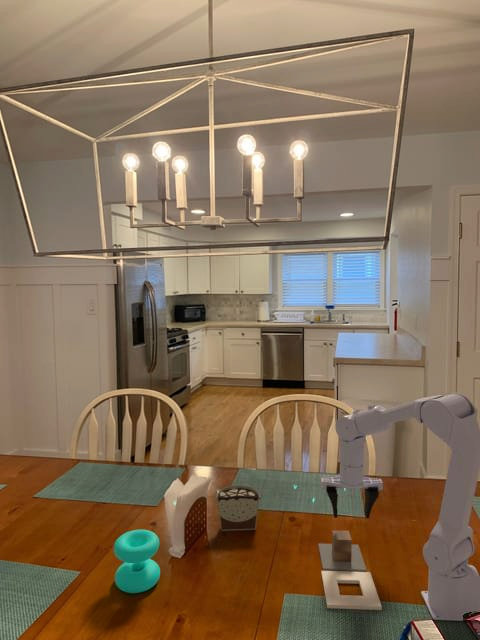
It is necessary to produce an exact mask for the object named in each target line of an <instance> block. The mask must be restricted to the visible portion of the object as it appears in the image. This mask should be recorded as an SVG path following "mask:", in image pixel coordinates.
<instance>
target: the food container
mask: <svg viewBox="0 0 480 640" xmlns="http://www.w3.org/2000/svg"><path fill="white" fill-rule="evenodd" d="M259 502H262V498H261V495H260V493H259V491H258V490H257V489H256V488H254V487H252V486H248V485H240V484H239V485H237V484H236V485H235V484H234V485H230V486H226V487H223V488H221V489H219V491H217V494H216V496H215V503H217V506H218V507H217V508H218V515H219V524H220V530H221V531H223V532H225V531H226V532H227V531H252V530H253V531H255V530H257V520H258V514H259V513H258V512H259V504H260V503H259Z"/></svg>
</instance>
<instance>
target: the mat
mask: <svg viewBox="0 0 480 640" xmlns="http://www.w3.org/2000/svg"><path fill="white" fill-rule="evenodd" d="M317 545H318V551H319V555H320V562H321V567H322V571H348V572H367V567H366V564H365V561H364V558H363V554H362V552H361V548H360V546H359V544H353V543H352V553H351V562H334V558H333V554H332V543H318V544H317Z"/></svg>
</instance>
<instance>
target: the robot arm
mask: <svg viewBox="0 0 480 640" xmlns="http://www.w3.org/2000/svg"><path fill="white" fill-rule="evenodd" d="M478 410H479V409H478V408H477V407H476V406H475V404H474V403H473V402H472V401H471V399H470V398H468V396H466V395H465V394H463V393H461V392H451V393H449V394H447V395H445V394H437V395H433V396H432V395H431V396H426V397H422V398H418V399H414V400H411V401H409V402H405V403H403V404H399V405H397V406H394V407H393V406H392V407H390V408H388V409H387V408H385V407H384V406H383V405H376V404H371V405H367V409H363V410H359V409H357V410H354V411H352V413H351V414H347V415H341V416H340V417H339V418H337V419H336V421H335V425H334V426H335V427H334V428H335V432H336V435H337V436H338V437H339V439H340V440H339V475H337V476H331V477H321V478H320V479H321V480H320V485H321V489H322V490H326V493H327V496H328V498H329V500H330V503H331V507H332V511H333V513H332V514H333V518H334V519H337V518H338V499H339V498H338V497H339V494H338V489H350V490H357V489H364V509H363V510H364V511H363V512H364V516H365V518H366V519H368V520H369V519H370V516H371V511H372V508H373V506H374V504H375V503H376V502H377V499H379V497H380V492H379V491H383V485H384V484H383V483H384V482H383V481H382V479H381V478H373V477H366V476H365V443H366V440H367V436H371V435H375V434H379V433H382V432H386V431H388V430H390V428H391V426H392V424H393V423H398V422H402V421H407V420H411V419H415V420H416V421H417V422H418V423H419V424H424V425H425V427H426V428H427V429H428V430H429V431H431V432H432V433H433V435H435V436H437V437H438V438H439V439H440V440H441V441H442V442H443V443H445V445H447V446H448V447H449V448H450V449H451V452H450V458H449V464H448V469H447V474H446V480H445V485H444V490H443V495H442V501H441V507H440V512H439V517H438V521H437V523H436V524H435V525H434V527H433V528H432V530H431V532H430V535H429V538H428V541H426V542H425V543H424V544H423V547H422V556H423V558H424V562H425V563H426V564H427V566H428V567H427V568H428V578H427V579H428V581H427V582H428V583H427V586H428V587H427V590H422V591H421V592H420V595H421V597H422V599H423V601H424V603H425V605H426V607H427V609H428V611H429V613H430V616H431V618H432V619H433V620H435V621H455V622H457V621H458V622H464V621H463V615H464V614H466V613H469V612H474V611H477V612H480V574H479V572H478V570H477V568H476V567H475V566H474V565H472V564H469V562H468V561H469V558H471V557H472V556H473V555H474V553H475V544H474V540H473V534H474V530H473V528H472V527H471V526H470V525H469V523H470V518H471V513H472V509H473V503H474V499H475V494H476V489H477V484H478V479H479V474H480V426H479V422H478Z"/></svg>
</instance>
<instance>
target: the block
mask: <svg viewBox="0 0 480 640" xmlns="http://www.w3.org/2000/svg"><path fill="white" fill-rule="evenodd" d="M331 531H332V532H331V535H332V536H331V544H332V554H333V558H334V562H351V553H352V544H353V543H352V542H353V541H352V537H351V533H350V531H349V530H337V529H336V530H331Z"/></svg>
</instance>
